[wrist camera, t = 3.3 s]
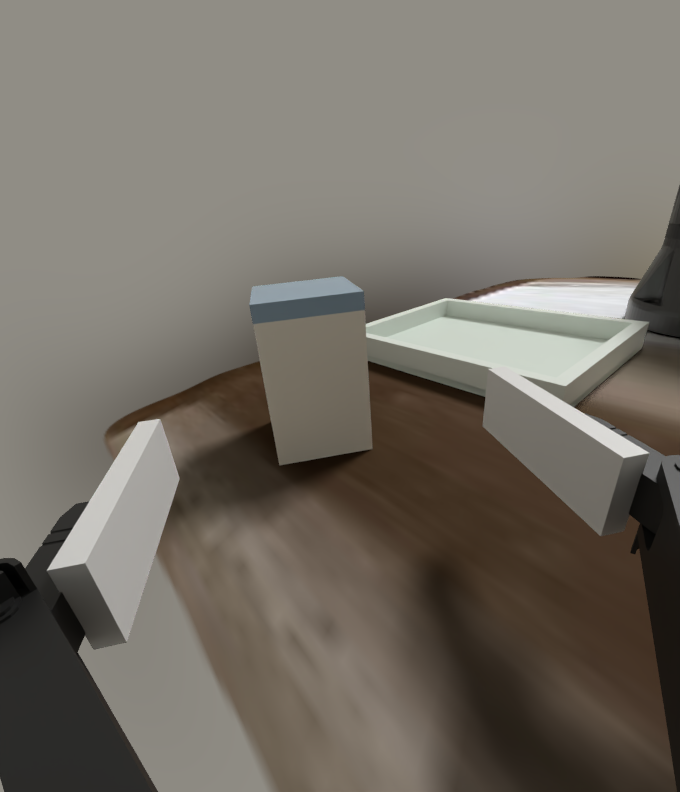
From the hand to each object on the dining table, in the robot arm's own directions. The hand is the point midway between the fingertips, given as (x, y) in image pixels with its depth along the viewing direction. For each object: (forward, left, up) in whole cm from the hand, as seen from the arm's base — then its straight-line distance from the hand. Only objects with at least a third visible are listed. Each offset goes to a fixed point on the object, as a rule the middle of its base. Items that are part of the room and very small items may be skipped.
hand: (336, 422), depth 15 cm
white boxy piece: (-5, -8, -6) cm, 12 cm away
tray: (-26, -8, -6) cm, 28 cm away
